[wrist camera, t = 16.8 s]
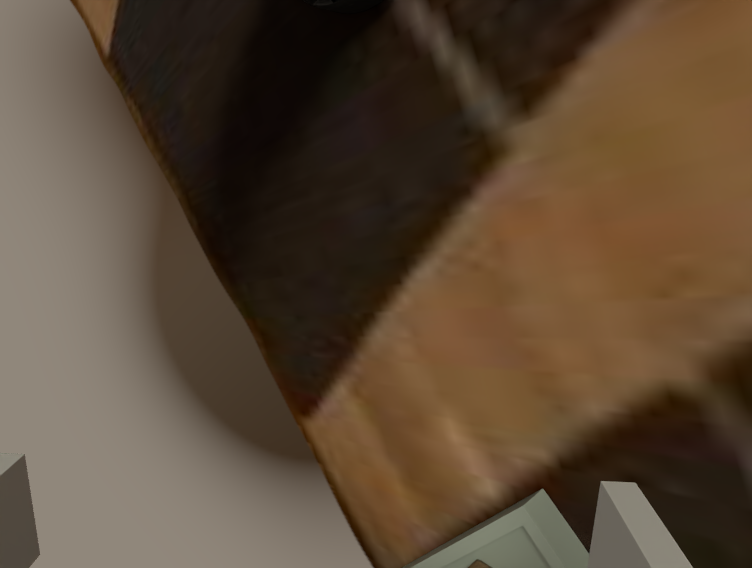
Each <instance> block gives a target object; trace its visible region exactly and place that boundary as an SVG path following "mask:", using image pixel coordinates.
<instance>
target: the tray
mask: <svg viewBox="0 0 752 568" xmlns="http://www.w3.org/2000/svg"><path fill="white" fill-rule="evenodd" d="M476 559H478V560H481V561H483V562H484V563H486V564H487V565H489V566H490V567H492V568H587V566H588V560H589V553H588V552H587V550H586V549H585V547H584V546H583V545H582V543H581V542H580V540H579V539H578V537H577V536H576V535H575V533H574V532H573V530H572V529H571V528H570V526H569V525H568V523H567V522H566V520H565V519H564V518H563V516H562V515H561V513H560V512H559V511H558V509H557V508H556V506H555V505H554V503H553V502H552V501H551V499H550V498H549V496H548V495H547V493H546V492H545V491H544V489H541V490H539V491H537V492H536V493H534V494H532V495H530V496H528V497H527V498H525V499H523V500H521V501H520V502H518V503H516V504H514V505H512V506H511V507H509V508H507V509H505V510H504V511H502V512H500V513H498V514H496V515H495V516H493V517H491V518H489V519H488V520H486V521H484V522H482V523H480V524H479V525H477V526H475V527H473V528H472V529H470V530H468V531H466V532H464V533H463V534H461V535H459V536H457V537H456V538H454V539H452V540H450V541H448V542H447V543H445V544H443V545H441V546H439V547H438V548H436V549H434V550H432V551H431V552H429V553H427V554H425V555H423V556H422V557H420V558H418V559H416V560H415V561H413V562H411V563H409V564H407V565H406V566H404V567H402V568H468V567H469V566H470V565H471V564H472V563H473V562H474V561H475V560H476Z"/></svg>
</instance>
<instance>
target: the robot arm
mask: <svg viewBox="0 0 752 568" xmlns="http://www.w3.org/2000/svg"><path fill="white" fill-rule="evenodd" d="M302 1H304V2H306V3H308V4H310V5H312V6H314V7H317V8H320V9H325V10H330V11H334V12H339V13H348V14H349V13H358V12H362V11H365V10H367V9H370V8H372V7H374V6H375V5H377V4H379V3H380V2H382V1H383V0H302ZM39 555H40V551H39V545H38V538H37V532H36V525H35V518H34V512H33V505H32V499H31V493H30V486H29V479H28V473H27V466H26V460H25V454H7V453H0V568H29V567H30V566H31V565H32V563H33V562H34V561H35V560H36V559H37V558H38V556H39ZM587 568H693V567H692V566H691V564H690V563H689V561H688V560H687V558H686V557H685V555H684V554H683V552H682V551H681V549H680V548H679V546H678V545H677V543H676V542H675V541H674V539H673V538H672V536H671V535H670V533H669V532H668V530H667V529H666V527H665V526H664V524H663V523H662V521H661V520H660V518H659V517H658V515H657V514H656V512H655V511H654V509H653V508H652V506H651V505H650V504H649V502H648V501H647V499H646V498H645V496H644V495H643V493H642V492H641V490H640V489H639V487H638V486H637V484H636V483H629V482H608V481H601V484H600V490H599V497H598V503H597V509H596V516H595V522H594V528H593V535H592V541H591V547H590V554H589V560H588V566H587Z"/></svg>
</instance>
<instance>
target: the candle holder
mask: <svg viewBox="0 0 752 568" xmlns="http://www.w3.org/2000/svg"><path fill="white" fill-rule="evenodd" d="M468 568H492V567H490V566H489V565H487V564H486V563H484V562H483V561H481V560H478V559H476V560H475V561H474V562H473V563H472V564H471V565H470V566H469V567H468Z"/></svg>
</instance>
